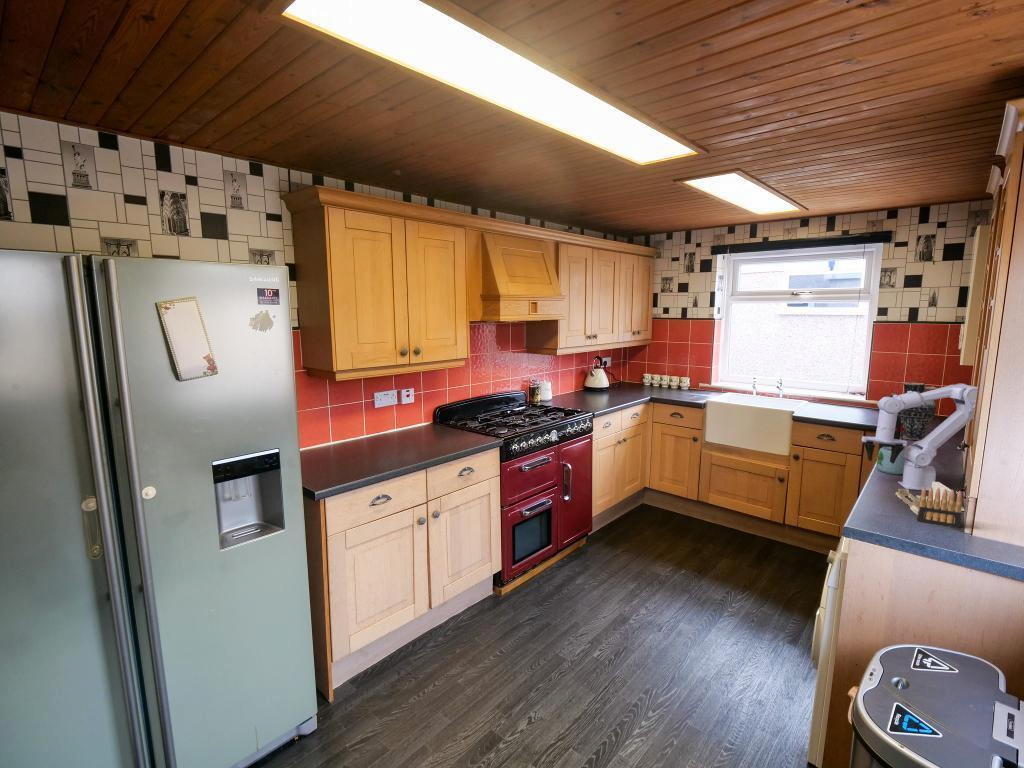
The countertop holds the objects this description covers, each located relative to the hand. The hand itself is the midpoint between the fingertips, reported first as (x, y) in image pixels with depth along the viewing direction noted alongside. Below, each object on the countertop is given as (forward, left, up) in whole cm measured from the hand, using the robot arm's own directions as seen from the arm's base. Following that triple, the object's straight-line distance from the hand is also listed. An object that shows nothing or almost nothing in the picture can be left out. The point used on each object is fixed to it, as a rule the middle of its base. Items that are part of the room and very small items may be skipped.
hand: (880, 461), depth 201 cm
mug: (-11, -22, -10) cm, 27 cm away
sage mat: (-13, +18, -10) cm, 24 cm away
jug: (-44, -90, -10) cm, 100 cm away
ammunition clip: (-4, +38, -10) cm, 40 cm away
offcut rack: (-4, +22, -10) cm, 24 cm away
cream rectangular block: (-13, +18, -9) cm, 24 cm away
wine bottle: (-21, -48, -10) cm, 53 cm away
